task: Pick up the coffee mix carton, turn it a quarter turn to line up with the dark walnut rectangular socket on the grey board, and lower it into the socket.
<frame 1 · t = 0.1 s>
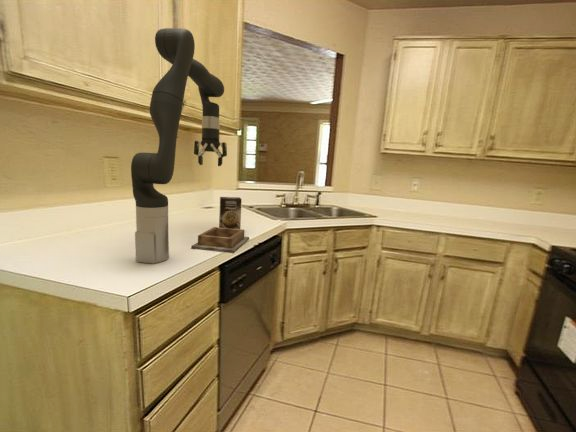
hand: (210, 165, 137), 29 cm above the counter, fingers open, 8 cm apart
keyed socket: (222, 243, 120), on the counter
coffee box: (229, 233, 137), on the counter
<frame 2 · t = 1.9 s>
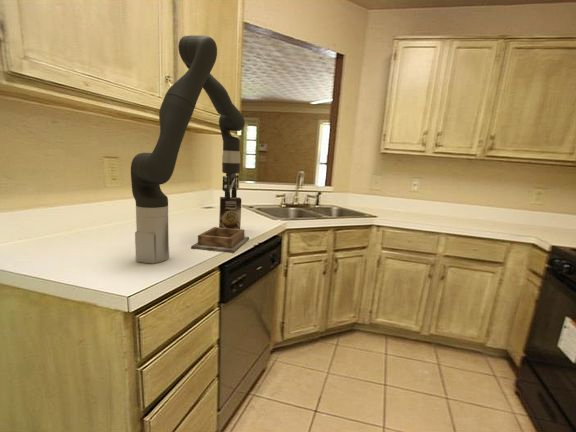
hand: (230, 199, 134), 15 cm above the counter, fingers open, 8 cm apart
coffee box: (229, 233, 137), on the counter, touching gripper
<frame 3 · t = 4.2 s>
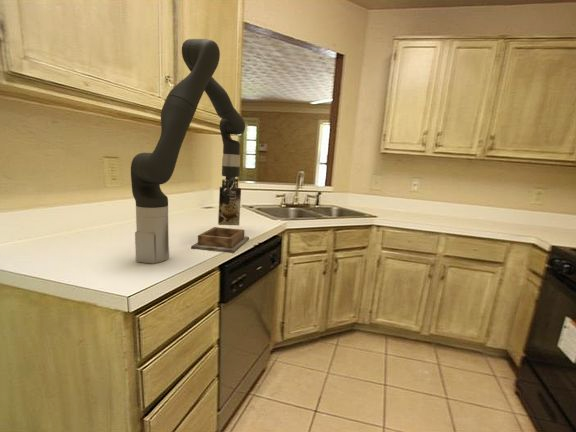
hand: (229, 202, 134), 14 cm above the counter, fingers closed on coffee box, 8 cm apart
coffee box: (228, 224, 136), point 4 cm above the counter, touching gripper
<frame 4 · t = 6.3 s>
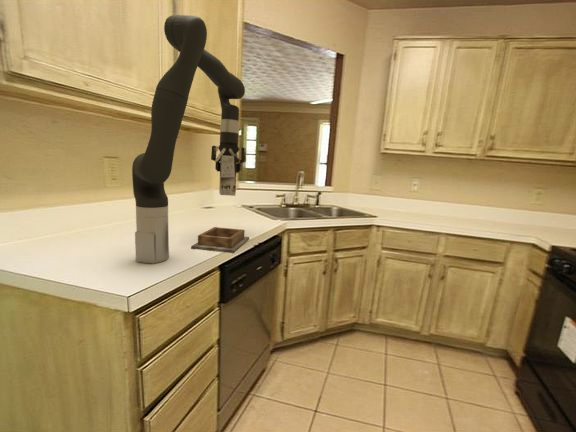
hand: (227, 172, 128), 27 cm above the counter, fingers closed on coffee box, 8 cm apart
coffee box: (227, 195, 129), point 18 cm above the counter, touching gripper
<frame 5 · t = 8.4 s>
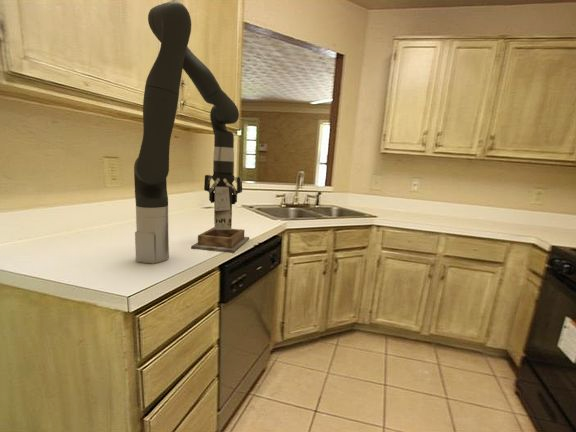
hand: (222, 203, 117), 16 cm above the counter, fingers closed on coffee box, 8 cm apart
coffee box: (222, 227, 118), point 6 cm above the counter, touching gripper
when the fingers open (11 cm above the counter, at t = 10.1 s): coffee box stays where it is, resting on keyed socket.
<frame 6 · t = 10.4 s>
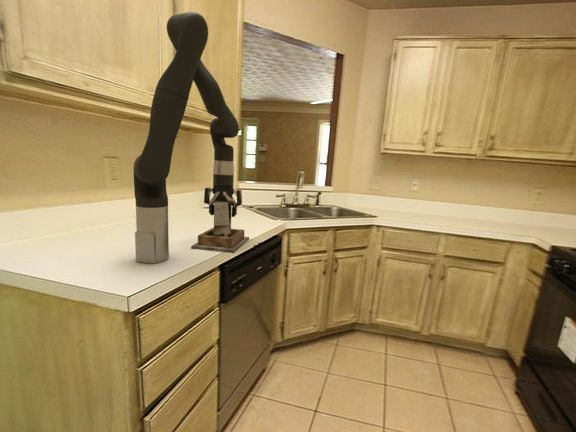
hand: (222, 215, 118), 11 cm above the counter, fingers open, 8 cm apart
coffee box: (222, 241, 119), point 1 cm above the counter, touching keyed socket
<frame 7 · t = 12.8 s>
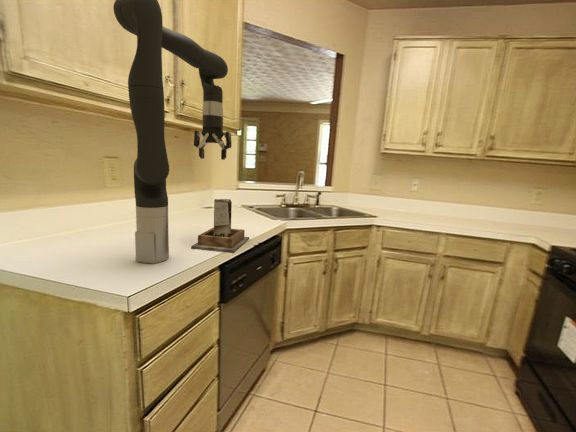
hand: (212, 159, 118), 32 cm above the counter, fingers open, 8 cm apart
nothing on the counter moved.
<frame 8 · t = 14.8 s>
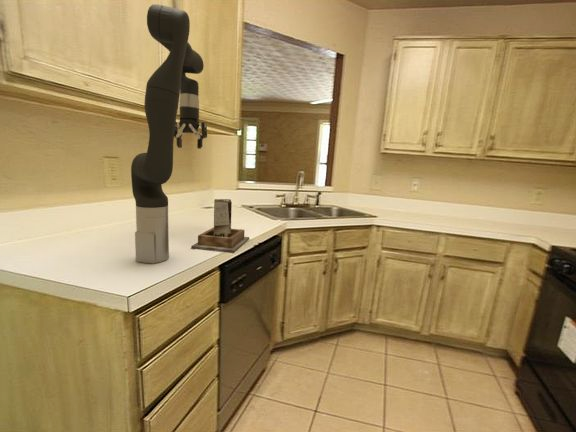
hand: (189, 148, 127), 36 cm above the counter, fingers open, 8 cm apart
nothing on the counter moved.
at the end: coffee box 0.2 cm off-centre on the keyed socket, point 0.8 cm above the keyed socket's base; coffee box tilted 0°; the gripper is holding nothing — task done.
